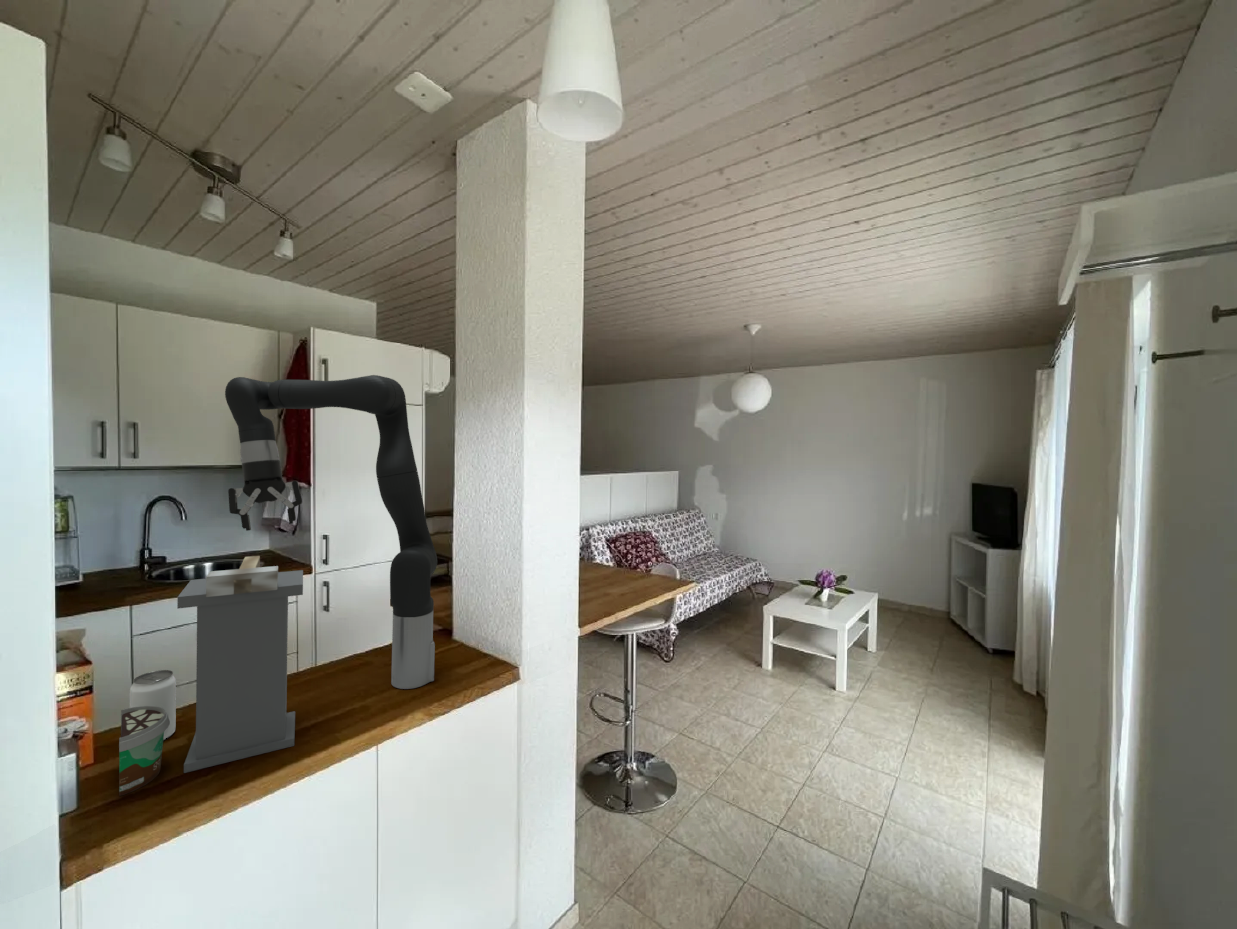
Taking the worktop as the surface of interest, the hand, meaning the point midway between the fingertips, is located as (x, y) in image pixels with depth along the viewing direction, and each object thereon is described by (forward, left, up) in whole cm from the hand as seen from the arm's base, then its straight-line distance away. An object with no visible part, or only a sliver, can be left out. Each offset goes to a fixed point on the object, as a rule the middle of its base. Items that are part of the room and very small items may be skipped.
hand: (270, 527), depth 119 cm
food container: (+16, +32, -37) cm, 51 cm away
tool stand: (+2, +29, -37) cm, 47 cm away
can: (+17, +19, -37) cm, 45 cm away
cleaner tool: (+2, +27, -6) cm, 28 cm away
